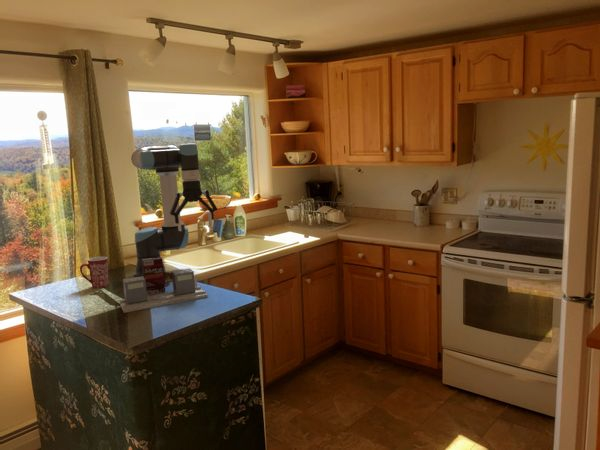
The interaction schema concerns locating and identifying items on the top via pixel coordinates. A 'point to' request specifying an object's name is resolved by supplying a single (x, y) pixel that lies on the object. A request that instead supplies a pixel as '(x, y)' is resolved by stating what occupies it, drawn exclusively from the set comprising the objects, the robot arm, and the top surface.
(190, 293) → the rail base
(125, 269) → the top surface
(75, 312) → the top surface
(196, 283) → the block
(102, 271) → the mug
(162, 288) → the supplement box
